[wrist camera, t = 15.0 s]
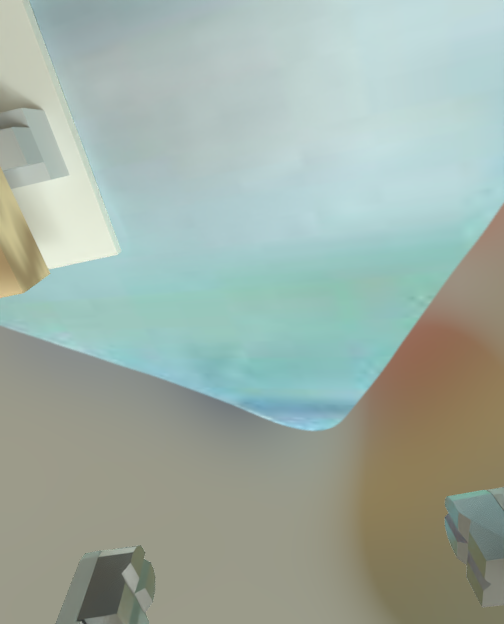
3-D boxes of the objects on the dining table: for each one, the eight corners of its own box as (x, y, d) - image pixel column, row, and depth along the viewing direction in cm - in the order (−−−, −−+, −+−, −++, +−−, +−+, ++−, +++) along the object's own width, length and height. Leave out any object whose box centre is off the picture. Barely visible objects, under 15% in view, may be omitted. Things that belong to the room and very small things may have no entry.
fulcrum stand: (-97, 27, 29) (-194, -3, 22) (26, -6, 28) (-38, -47, 22) (24, 271, 37) (-21, 300, 31) (121, 251, 36) (95, 275, 30)
